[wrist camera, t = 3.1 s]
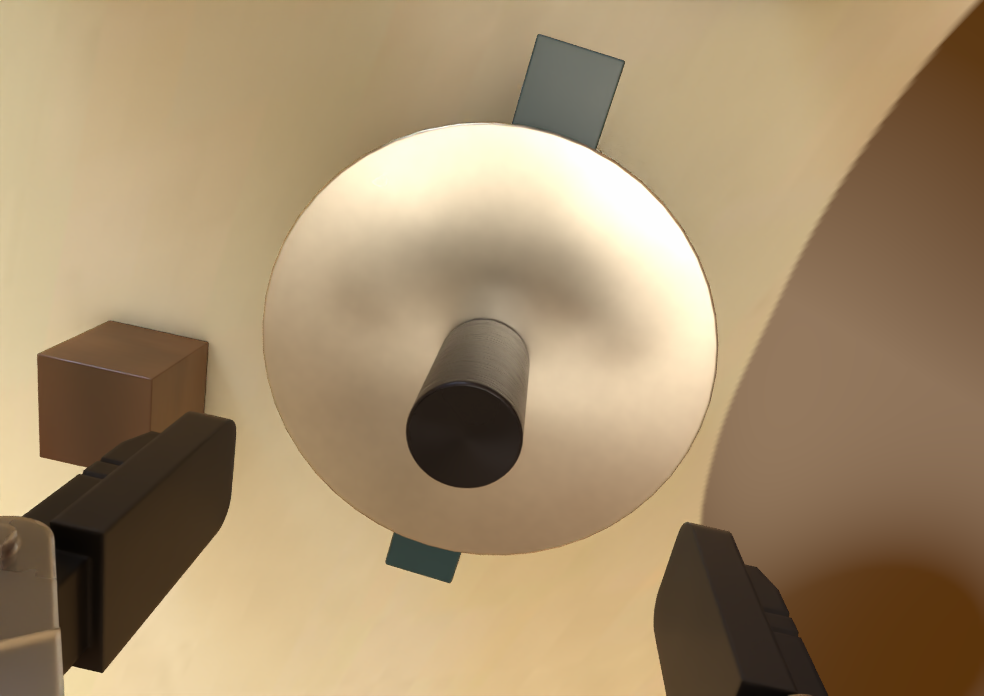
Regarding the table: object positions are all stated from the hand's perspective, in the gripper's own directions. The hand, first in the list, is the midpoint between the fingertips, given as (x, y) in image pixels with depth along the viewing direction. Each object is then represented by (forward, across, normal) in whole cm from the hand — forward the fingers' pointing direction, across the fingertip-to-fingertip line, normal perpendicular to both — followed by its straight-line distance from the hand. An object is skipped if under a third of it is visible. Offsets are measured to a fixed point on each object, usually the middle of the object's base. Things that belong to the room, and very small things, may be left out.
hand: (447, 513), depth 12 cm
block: (+17, +15, +8) cm, 24 cm away
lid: (+8, 0, 0) cm, 8 cm away
